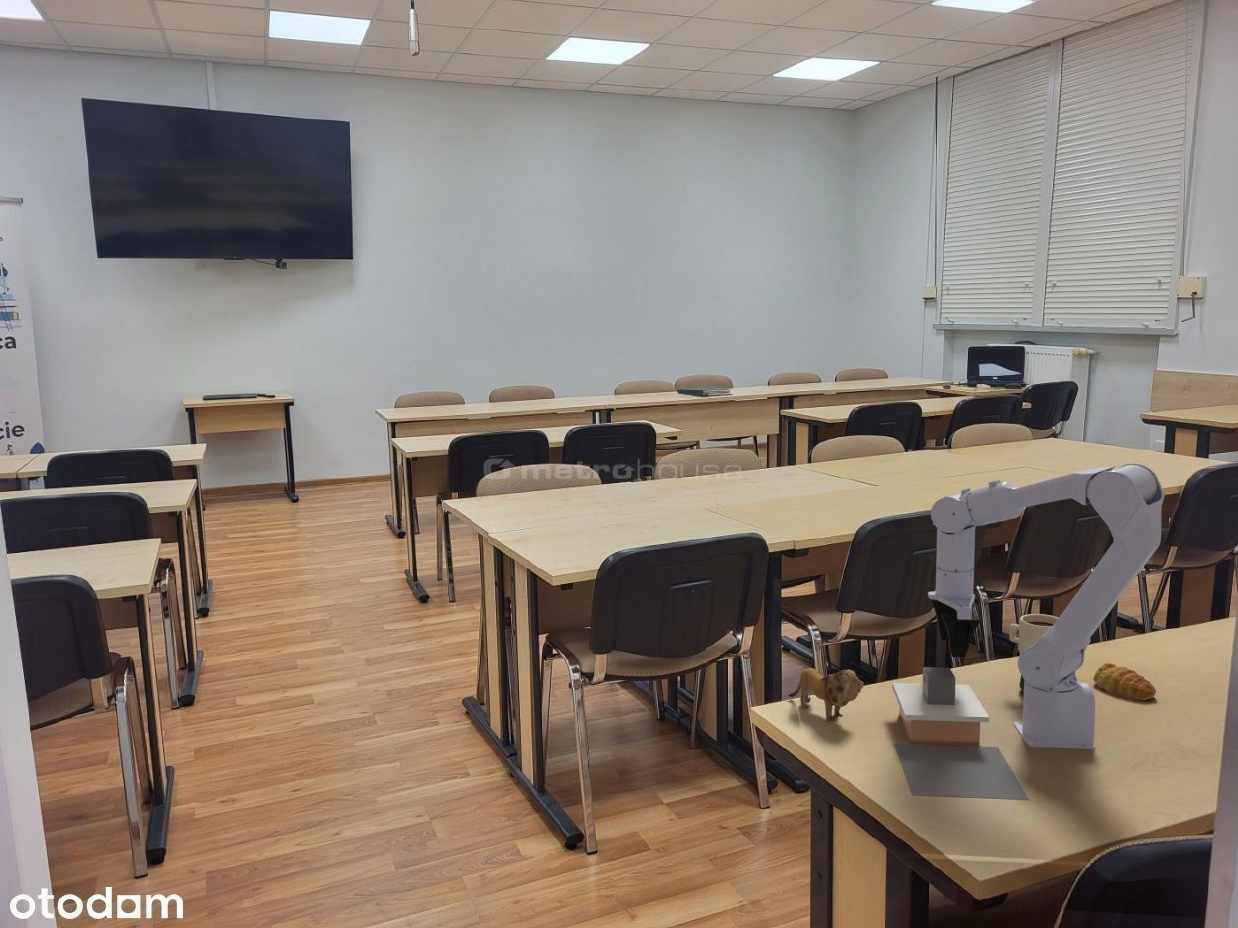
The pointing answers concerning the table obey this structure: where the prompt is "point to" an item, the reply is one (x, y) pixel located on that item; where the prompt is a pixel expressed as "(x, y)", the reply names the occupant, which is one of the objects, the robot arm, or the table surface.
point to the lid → (939, 698)
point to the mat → (958, 772)
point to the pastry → (1123, 682)
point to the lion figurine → (829, 689)
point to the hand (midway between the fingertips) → (952, 647)
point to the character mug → (1030, 632)
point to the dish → (942, 731)
